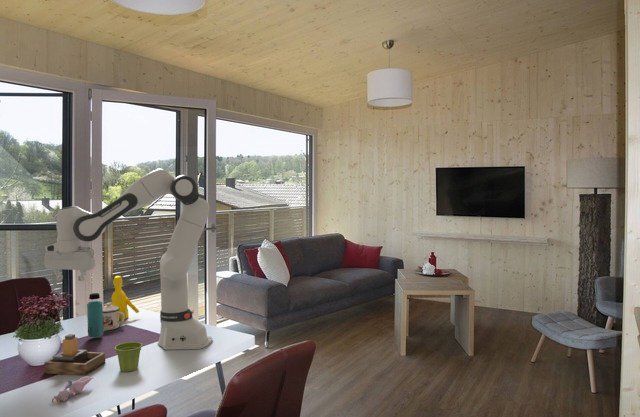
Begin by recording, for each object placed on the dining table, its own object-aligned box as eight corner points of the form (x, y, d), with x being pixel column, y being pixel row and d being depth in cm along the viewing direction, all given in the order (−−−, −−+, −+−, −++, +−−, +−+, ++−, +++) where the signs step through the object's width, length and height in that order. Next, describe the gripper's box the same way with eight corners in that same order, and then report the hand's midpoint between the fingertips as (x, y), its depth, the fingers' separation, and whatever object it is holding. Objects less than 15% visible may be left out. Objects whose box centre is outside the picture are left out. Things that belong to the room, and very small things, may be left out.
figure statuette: (141, 317, 244) (140, 274, 243) (134, 321, 237) (133, 277, 235) (107, 316, 246) (106, 273, 245) (99, 320, 238) (98, 276, 237)
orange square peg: (78, 363, 179) (77, 334, 178) (72, 367, 175) (71, 337, 175) (69, 363, 179) (68, 333, 179) (63, 366, 176) (62, 336, 175)
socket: (87, 361, 181) (87, 349, 181) (73, 369, 173) (73, 357, 173) (68, 360, 182) (67, 348, 182) (53, 368, 174) (53, 356, 174)
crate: (105, 363, 182) (105, 352, 182) (85, 375, 170) (85, 364, 170) (66, 360, 184) (66, 350, 184) (44, 373, 172) (44, 362, 172)
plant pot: (124, 363, 182) (124, 340, 181) (147, 365, 180) (147, 342, 180) (109, 373, 173) (109, 349, 172) (133, 374, 171) (133, 350, 170)
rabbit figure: (64, 409, 148) (99, 383, 162) (61, 392, 146) (97, 367, 160) (48, 406, 150) (85, 380, 164) (45, 389, 148) (82, 364, 162)
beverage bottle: (106, 336, 214) (105, 291, 213) (98, 341, 207) (97, 295, 206) (93, 335, 214) (91, 291, 213) (84, 340, 208) (83, 295, 207)
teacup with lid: (94, 330, 223) (94, 305, 222) (104, 324, 232) (104, 300, 231) (120, 330, 222) (119, 305, 221) (129, 324, 231) (128, 301, 230)
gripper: (98, 245, 195) (98, 279, 196) (52, 244, 198) (53, 278, 199) (88, 247, 189) (89, 282, 190) (41, 246, 192) (42, 281, 193)
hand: (70, 280), depth 194 cm, fingers open, 8 cm apart
